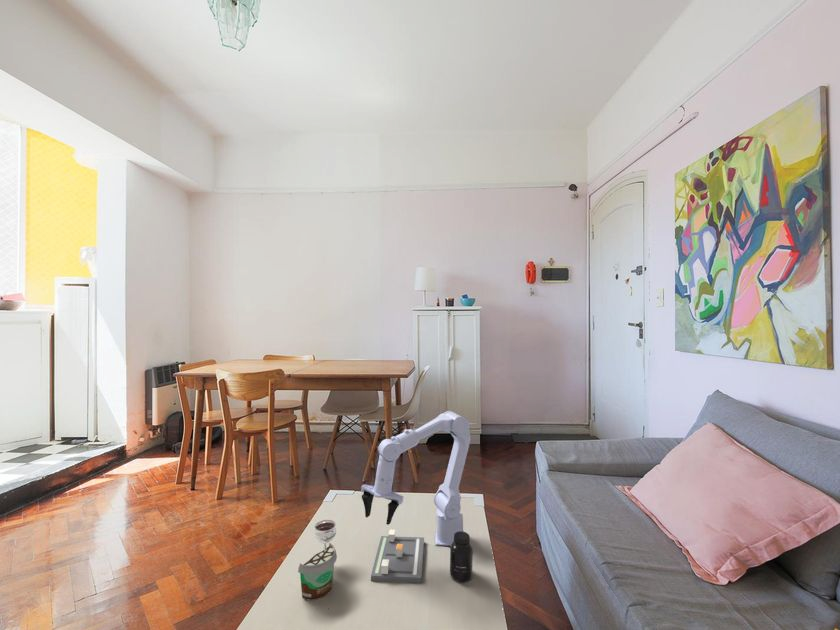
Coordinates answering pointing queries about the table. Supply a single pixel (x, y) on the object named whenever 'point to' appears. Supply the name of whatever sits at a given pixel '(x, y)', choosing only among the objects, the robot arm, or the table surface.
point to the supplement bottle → (461, 557)
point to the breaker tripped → (399, 550)
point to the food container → (318, 574)
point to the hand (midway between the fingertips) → (378, 519)
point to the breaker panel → (400, 560)
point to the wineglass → (325, 531)
